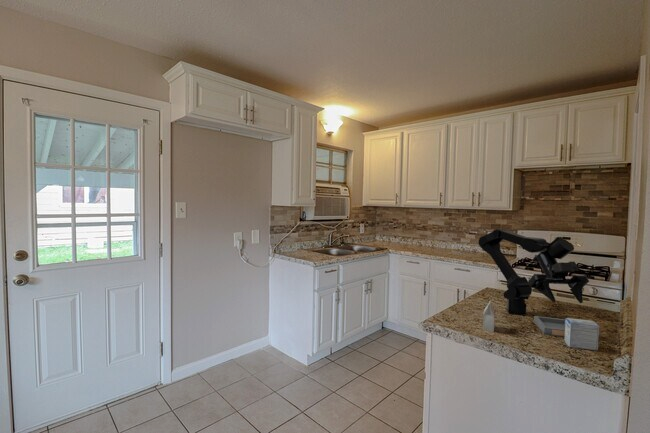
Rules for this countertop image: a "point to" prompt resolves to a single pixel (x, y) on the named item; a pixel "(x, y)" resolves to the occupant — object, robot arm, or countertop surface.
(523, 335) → the countertop surface
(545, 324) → the tray
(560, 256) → the robot arm
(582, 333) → the medicine box
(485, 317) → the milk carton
